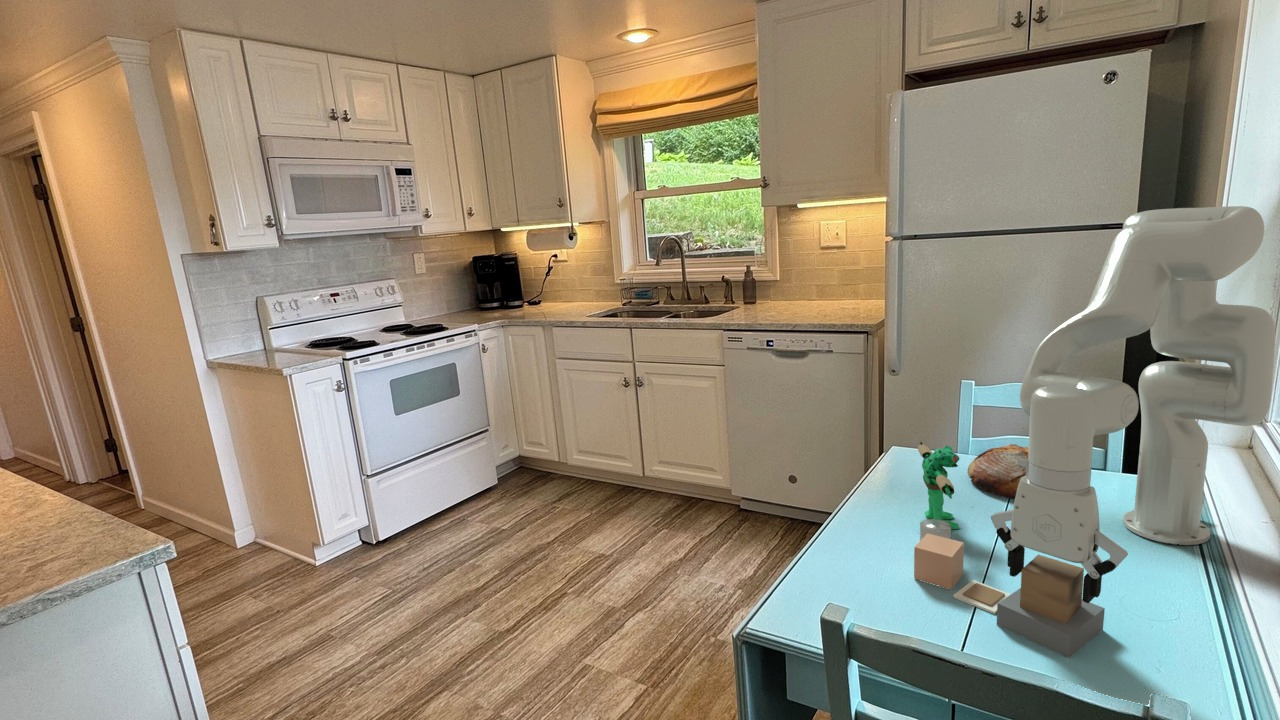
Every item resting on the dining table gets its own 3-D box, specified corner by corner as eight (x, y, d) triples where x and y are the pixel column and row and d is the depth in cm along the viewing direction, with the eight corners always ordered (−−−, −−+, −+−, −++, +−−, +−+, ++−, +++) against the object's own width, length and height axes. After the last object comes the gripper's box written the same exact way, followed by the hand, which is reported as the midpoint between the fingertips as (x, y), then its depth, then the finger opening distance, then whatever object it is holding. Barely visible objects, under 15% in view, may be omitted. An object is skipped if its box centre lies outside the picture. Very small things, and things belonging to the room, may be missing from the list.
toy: (976, 554, 119) (979, 476, 116) (937, 553, 121) (939, 475, 118) (942, 495, 144) (943, 429, 141) (910, 494, 145) (911, 429, 142)
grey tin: (928, 546, 123) (929, 516, 122) (955, 555, 119) (956, 524, 118) (914, 556, 120) (914, 525, 119) (940, 566, 117) (941, 534, 115)
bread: (1056, 515, 134) (1058, 469, 131) (954, 491, 148) (954, 450, 145) (1077, 484, 145) (1079, 441, 142) (980, 464, 159) (981, 425, 156)
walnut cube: (1036, 590, 101) (1038, 554, 100) (1081, 606, 97) (1083, 568, 96) (1019, 606, 98) (1021, 569, 96) (1065, 623, 93) (1068, 584, 92)
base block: (1031, 603, 105) (1032, 579, 104) (1102, 632, 97) (1104, 608, 96) (996, 627, 100) (997, 603, 99) (1068, 661, 91) (1070, 635, 91)
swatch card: (973, 582, 111) (973, 578, 111) (1014, 597, 106) (1014, 593, 106) (953, 597, 107) (953, 593, 107) (994, 614, 102) (994, 610, 102)
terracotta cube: (926, 564, 117) (927, 533, 116) (962, 574, 113) (963, 542, 112) (914, 579, 113) (914, 547, 112) (951, 590, 109) (951, 557, 108)
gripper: (982, 466, 98) (978, 573, 101) (1121, 500, 84) (1111, 621, 88) (1006, 453, 102) (1001, 555, 106) (1141, 483, 89) (1131, 599, 92)
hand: (1051, 585), depth 97 cm, fingers open, 9 cm apart
